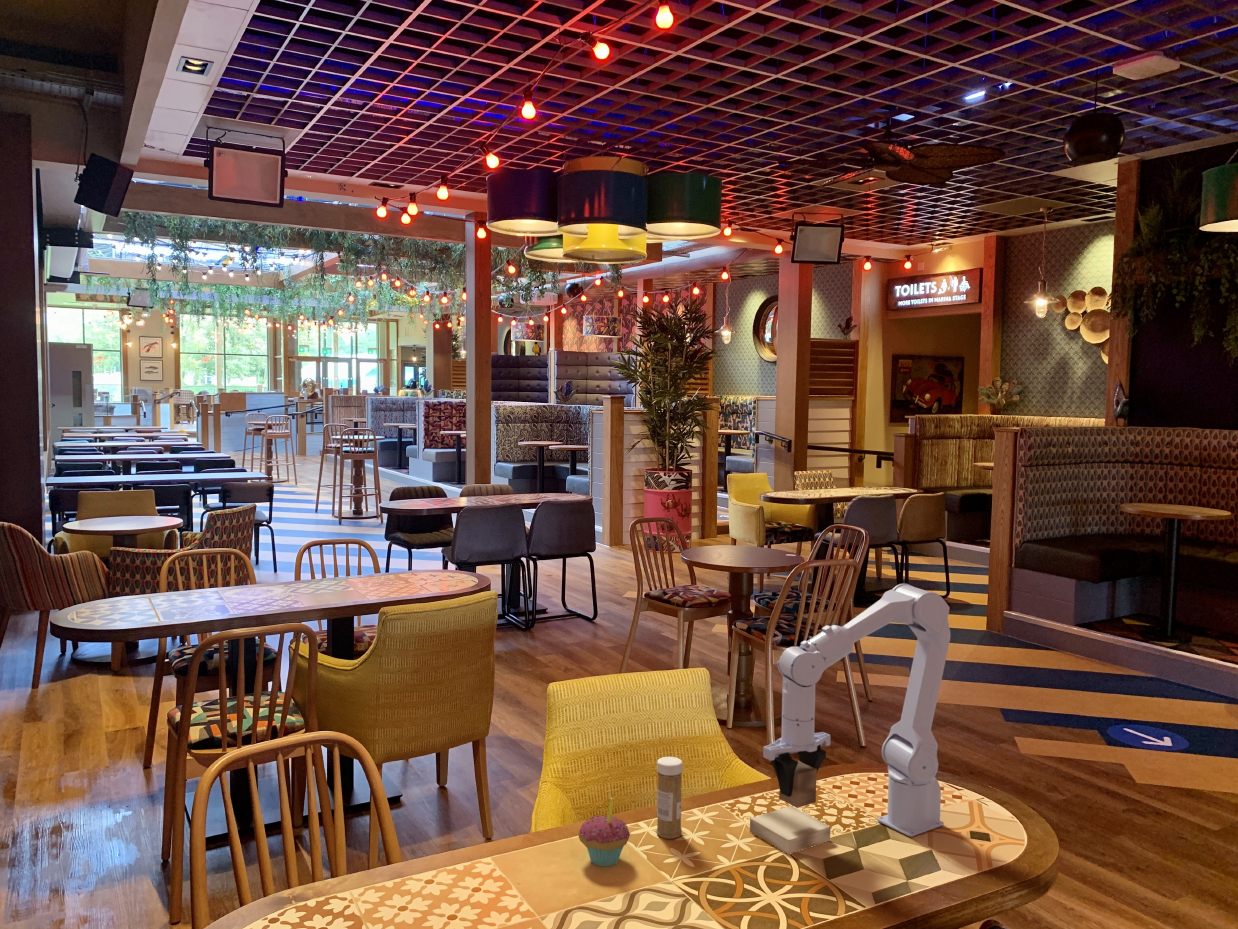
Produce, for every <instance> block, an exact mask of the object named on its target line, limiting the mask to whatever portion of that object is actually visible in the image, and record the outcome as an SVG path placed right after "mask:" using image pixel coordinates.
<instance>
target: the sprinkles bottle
mask: <svg viewBox="0 0 1238 929" xmlns="http://www.w3.org/2000/svg"><path fill="white" fill-rule="evenodd" d="M683 767H684V765H683V761H682V759H680V758H679V757H676V756H675V757H674V756H663V757H660V758H659V759H657V762H656V771H657V790H656V791H657V793H656V816H657V824H656V825H657V828H656V834H657V835H658V836H659V837H660V838H663V839H668V840H671V839H676V838H679V837H681V835H682V833H683V832H682V774H683V770H684V769H683Z"/></svg>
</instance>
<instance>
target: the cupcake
mask: <svg viewBox="0 0 1238 929" xmlns="http://www.w3.org/2000/svg"><path fill="white" fill-rule="evenodd" d="M614 794H615V793H612V796H611V797H610V799H609V804H608V805H609V806H608V811H607V813H608V814H607V815H602V814H601V815H594V816H592V817H590V818H588V819H586V821H585V822H584V823H583V822H582V824H581V826H580V828H579V831H578V839H579V841H580V842H581V843H582V844H583V846H584V847H586V850H587V853H588V856H589V858H590V859H589V860H590V861H591V863H592V864H594V865H595V866H597V867H598V866H599V867H611V866H614V865H616V864H617V863H618V862H619V861H620V856H621V853H622V851H623V849H624V847H625V846H626V845H627V843H628V840H629V839H630V836H631V834H630V831H629V826H628V825H627V824H626V822H624V821H623V820H622V819H620V818H618V817H616V816H613V809H614V802H615V798H614V796H615V795H614Z"/></svg>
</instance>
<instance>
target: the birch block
mask: <svg viewBox="0 0 1238 929" xmlns="http://www.w3.org/2000/svg"><path fill="white" fill-rule="evenodd" d="M751 832H752V833H753V834H752V833H751ZM749 833H751V834H752V835H754V834H755V835H754V836H756V835H757V836H759V837H760V838H759V837H758V838H759V839H761V838H762V839H764V840H765V841H764V840H763V841H764V842H766V841H768V842H769V843H771V844H772V845H771V844H770V845H771V846H773V845H774V846H776V847H777V848H776V847H775V848H776V849H778V848H779V849H780V850H779V849H778V850H779V851H781V850H782V851H781V852H783V851H784V852H785V853H784V852H783V853H784V854H786V853H787V854H786V855H788V854H789V855H791V854H790V853H792V854H794V853H793V852H795V853H798V852H801V851H803V850H802V849H804V850H806V848H807V849H809V847H810V848H812V847H811V846H813V847H815V846H814V845H816V846H819V845H821V843H822V844H825V843H827V841H828V842H831V826H830V825H828V824H826V823H824V822H823V821H821V820H819V819H817V818H815V817H813V816H811V815H809V814H808V813H805V812H804V811H802V810H799V809H798V808H796V807H794V806H792V805H789V806H786V807H783V808H780V809H776V810H773V811H770V812H766V813H763V814H759V815H756V816H753V817H750V818H749ZM757 836H756V837H757ZM762 839H761V840H762ZM824 842H825V843H824ZM769 843H768V844H769ZM818 844H819V845H818ZM774 846H773V847H774ZM800 850H801V851H800ZM797 851H798V852H797Z"/></svg>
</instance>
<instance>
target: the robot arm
mask: <svg viewBox="0 0 1238 929" xmlns="http://www.w3.org/2000/svg"><path fill="white" fill-rule="evenodd" d="M949 614H950V606H949V605H948V603H947V602H946V601H945V599H944V598H943V597H942V596H941V595H940V594H939V593H937V592H934V591H928V590H926V589H925V590H924V589H921V588H918V587H915V586H913V585H910V584H908V583H899V584H897V585H896V586H894V587H892V589H889V590H887V591H885V592H884V593H883V594H882V596H881V598H880V599H879V600H877V601H876V602H874V603H873V604H872V605H870V606H869V607H867V609H865V610H863V611H862V612H861V613H859V614H858V615H857V616H855V617H854V618H852V619H851V620H850V621H849V622H846V623H845V624H844V625H843V626H842V625H841V626H840V625H836V624H832V625H827V624H826V625H825V626H823V627H821V630H822V631H820V632H818V634H816V635H814V636H813V637H811V638H810V639H808V640H803V641H801V642H800V645H799V646H794V645H793V646H790V647H787V648H786V649H785V650H784V651H783V652H782V653H781V655H780V657H779V660H778V661H776V667H777V670H778V672H779V673H780V674H781V676H782V689H781V690H782V692H781V693H782V694H781V695H782V697H781V737H779V738H778V739H777V740H774V741H773V742H771V743H770V744H768V745H764V746H763V748H762V751H763V752H762V755H763V756H762V757H763V758H764V759H766V760H767V761H769V762H770V763H771V765H772V767H773V770H774V773H775V775H776V778H777V782H778V783H777V784H778V786H779V791H780V792H781V793H782V794H784V795H786V796H788V797H790V796H791V795H792V790H793V778H794V773H795V770H796V767H797V764H798V762H797V761H800V762H802V763H805V764H807V765H809V766H811V767H813V768H815V769H817V773H818V771H819V769H820V767H821V765H822V763H823V762H824V760H825V759H826V757H827V751H826V750H825V749H822V748H821V747H822V746H825V747H828V746H829V747H830V746H831V734H829V733H826V732H824V731H820V732H815V725H816V724H815V719H816V718H815V715H816V714H815V713H816V684H817V683H818V682H819V681H820V680H821V678H822V676H823V673H824V671H825V670H827V669H828V668H829V667H831V666H832V665H834V664H836V663H837V662H839V661H840V660H842V659H843V658H845V657H847V656H848V655H850V654H851V653H852V652H853V649H854V644H855V643H856V642H858V641H860V640H861V639H863V638H865V637H868V635H871V634H873V633H874V632H877V631H878V630H880V629H881V628H883V627H886V626H888V625H889V624H891V623H894V624H904V625H905V624H906V625H907V626H908V627H909V628H910V630H911V631H912V633H913V634H914V635H915V636H916V638H917V641H916V646H915V652H914V655H913V660H912V664H911V670H910V674H909V679H908V683H907V688H906V692H905V697H904V702H903V707H902V711H901V717H900V720H899V721H898V722H896V723H894V724H893V725H891V726H890V730H889V733H888V735H887V738H886V739H885V740H884V742H883V744H882V747H881V756H882V757H881V758H882V760H883V762H884V763H886V764H887V771H888V789H887V791H888V793H887V814H885V815H881V816H879V817H877V818H876V821H877V822H879V823H881V824H883V825H885V826H887V827H890V828H891V829H893V830H895V831H897V832H899V833H902V834H904V835H906V836H908V837H915V836H917V835H920V834H924V833H925V832H928V831H931V830H934V829H937V828H940V827H943V826H944V824H945V823H944V821H942V820H941V796H942V792H941V786H940V783H939V781H938V780H937V778H936V775H937V773H938V770H939V761H938V760H939V759H938V748H939V746H938V742H937V740H936V737H935V735H934V734H933V732H932V726H933V722H934V716H935V711H936V707H937V702H938V699H939V698H938V697H939V693H940V689H941V684H942V679H943V675H944V670H945V666H946V660H947V655H948V652H949V646H950V640H951V636H952V634H951V629H950V624H949V618H948V617H949ZM795 753H797V755H798V760H795V759H792V756H791V754H795Z"/></svg>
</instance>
